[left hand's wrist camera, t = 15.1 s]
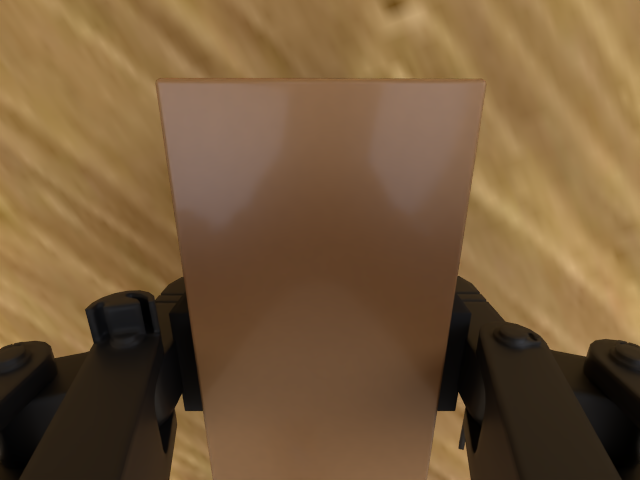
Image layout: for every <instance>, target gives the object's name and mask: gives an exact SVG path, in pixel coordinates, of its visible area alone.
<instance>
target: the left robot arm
mask: <svg viewBox="0 0 640 480" xmlns="http://www.w3.org/2000/svg"><path fill="white" fill-rule="evenodd" d="M85 311H86V315H87V319H88V323H89V326H90V330H91V334H92V338H93V342H94V344H93V346H92V348H91V350H90V351H89V352H85V353H80V354H75V355H70V356H65V357H59V358H54V355H53V352H52V349H51V346H50V345H48V344H47V343H46V342H40V341H29V342H19V343H14V345H12V344H11V345H7V346H5V347H2V348H1V349H0V480H169V477H170V470H171V463H172V456H173V449H174V442H175V435H176V428H177V420H176V414H175V406H176V404H177V402H178V400H179V398H180V396H181V394H182V395H183V401H184V407H185V411H203V407H202V400H201V393H200V386H199V379H198V372H197V366H196V359H195V352H194V345H193V338H192V331H191V324H190V317H189V310H188V303H187V297H186V290H185V283H184V277H181V278H179V279H178V280H176V281H174V282H173V283H171V284H169V285H168V286H167V287H166V288H165V289H164V291H163V292H162V293H161V295H159V296H158V298H157V299H156V300H155V298H154V296H153V295H152V294H151V293H149V292H145V291H140V290H138V291H124V292H119V293H114V294H111V295H108V296H105V297H103V298H101V299H99V300H97V301H95V302H93V303H92V304H91V305H89V306H88V307H87V308H86V309H85ZM458 392H459V394H460V396H461V398H462V400H463V402H464V404H465V406H466V408H465V414H464V419H463V425H462V430H461V435H460V441H459V449H462V450H464V445H465V442H466V449H467V456H468V463H469V470H470V477H471V480H640V346H638V345H636V344H633V343H627V342H625V341H621V340H609V339H603V340H596V341H594V342H593V343H592V344H590V347H589V350H588V353H587V356H586V357H585V356H579V355H574V354H569V353H563V352H558V351H554V350H550V349H549V347H548V345H547V343H546V342H545V341H544V340H543V339H542V338H541V336H540V335H538V334H536V333H535V332H533V331H532V330H530V329H528V328H525V327H523V326H520V325H518V324H514V323H509V322H505V321H504V320H503V318H502V317H501V316H500V315H499V314H498V313H497V312H496V310H495V309H494V308H493V307H492V306H491V305H490V304H489V302H486V299H485V298H484V297H483V296H482V294H480V292H479V291H478V290H477V289H476V288H475V287H474V285H473V284H472V283H470V282H468V281H467V280H465V279H463V278H461V277H460V276H457V282H456V289H455V295H454V302H453V309H452V315H451V322H450V328H449V335H448V342H447V348H446V355H445V362H444V368H443V375H442V382H441V388H440V395H439V401H438V408H437V411H455V408H456V403H457V397H458Z"/></svg>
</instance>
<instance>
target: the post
mask: <svg viewBox="0 0 640 480" xmlns="http://www.w3.org/2000/svg"><path fill="white" fill-rule="evenodd" d="M156 90H157V97H158V103H159V110H160V117H161V124H162V131H163V138H164V145H165V152H166V159H167V166H168V172H169V179H170V186H171V193H172V200H173V207H174V214H175V221H176V228H177V234H178V241H179V248H180V255H181V262H182V269H183V276H184V283H185V290H186V297H187V303H188V310H189V317H190V324H191V331H192V338H193V345H194V352H195V359H196V366H197V372H198V379H199V386H200V393H201V400H202V407H203V414H204V421H205V428H206V435H207V441H208V448H209V455H210V462H211V469H212V476H213V480H427V474H428V468H429V461H430V454H431V448H432V441H433V435H434V428H435V421H436V415H437V408H438V401H439V395H440V388H441V382H442V375H443V368H444V362H445V355H446V348H447V342H448V335H449V328H450V322H451V315H452V309H453V302H454V295H455V289H456V282H457V275H458V269H459V262H460V256H461V249H462V242H463V236H464V229H465V222H466V216H467V209H468V202H469V196H470V189H471V183H472V176H473V169H474V163H475V156H476V149H477V143H478V136H479V130H480V123H481V116H482V110H483V103H484V96H485V90H486V81H485V80H483V79H320V78H160V79H158V80H156Z"/></svg>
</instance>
